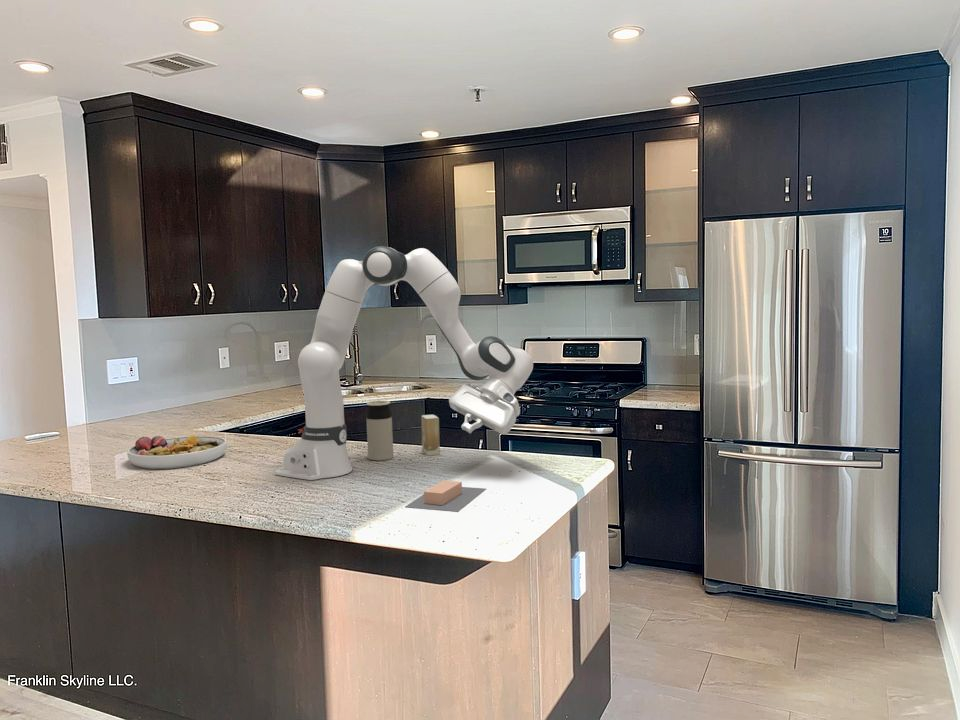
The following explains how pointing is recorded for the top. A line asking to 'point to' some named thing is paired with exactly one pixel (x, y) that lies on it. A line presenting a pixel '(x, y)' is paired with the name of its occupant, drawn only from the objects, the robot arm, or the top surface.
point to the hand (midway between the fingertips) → (465, 430)
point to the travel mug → (379, 430)
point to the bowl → (176, 451)
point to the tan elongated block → (442, 492)
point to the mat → (452, 505)
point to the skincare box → (430, 435)
